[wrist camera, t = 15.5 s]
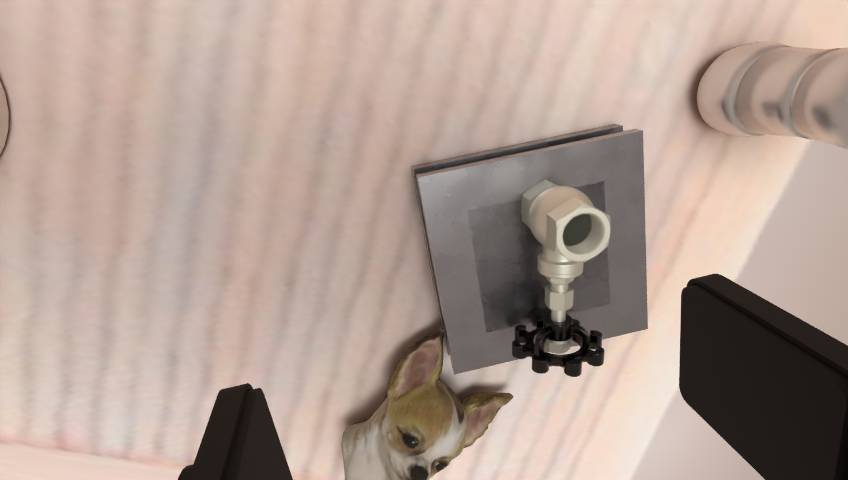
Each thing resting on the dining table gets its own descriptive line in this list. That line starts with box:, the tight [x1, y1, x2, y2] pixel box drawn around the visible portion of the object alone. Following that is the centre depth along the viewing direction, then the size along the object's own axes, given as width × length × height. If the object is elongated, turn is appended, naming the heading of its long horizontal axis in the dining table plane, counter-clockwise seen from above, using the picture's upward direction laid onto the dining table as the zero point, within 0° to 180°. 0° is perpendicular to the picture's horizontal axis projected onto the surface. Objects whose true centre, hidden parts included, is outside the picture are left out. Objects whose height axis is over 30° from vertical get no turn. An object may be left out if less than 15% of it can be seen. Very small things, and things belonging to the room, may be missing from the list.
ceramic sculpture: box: [341, 330, 513, 480], centre depth 41 cm, size 11×9×15 cm
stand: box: [411, 124, 648, 374], centre depth 39 cm, size 16×16×4 cm
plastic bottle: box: [697, 42, 848, 149], centre depth 30 cm, size 6×7×20 cm
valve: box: [512, 179, 610, 377], centre depth 34 cm, size 7×7×12 cm
